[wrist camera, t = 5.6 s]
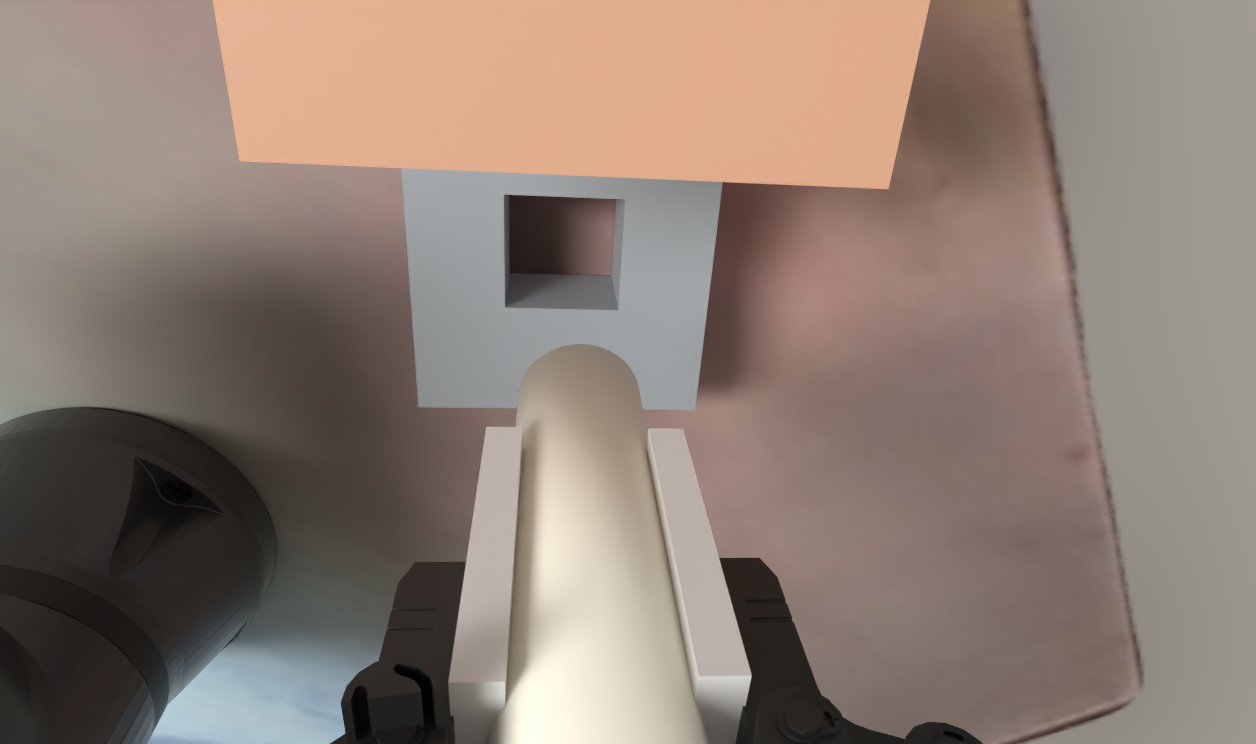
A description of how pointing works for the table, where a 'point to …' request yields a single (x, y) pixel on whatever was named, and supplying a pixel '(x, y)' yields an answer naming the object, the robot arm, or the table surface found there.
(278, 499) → the table surface
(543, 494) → the peg
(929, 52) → the table surface
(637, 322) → the socket block
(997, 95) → the table surface
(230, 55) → the wooden topped pedestal
